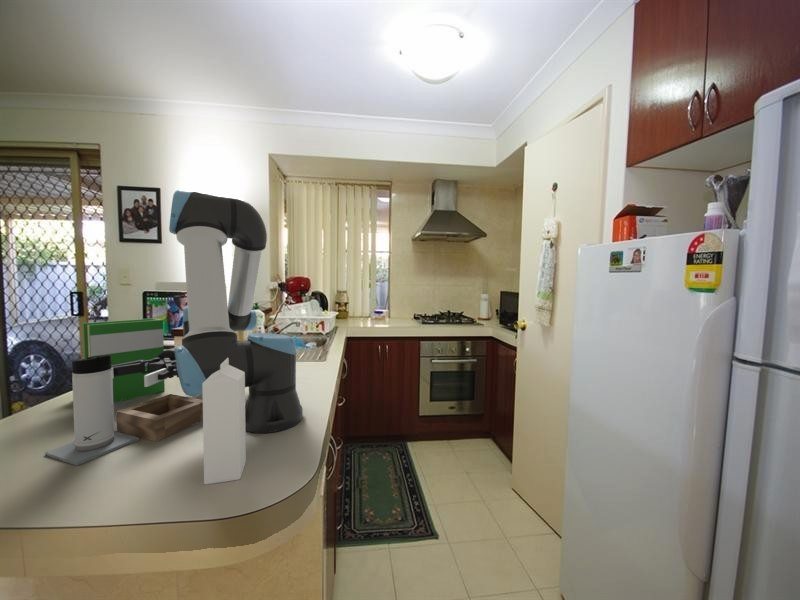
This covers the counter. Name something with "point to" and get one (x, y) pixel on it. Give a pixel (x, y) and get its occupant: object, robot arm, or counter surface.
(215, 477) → the milk
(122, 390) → the hardback book
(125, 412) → the cup stand
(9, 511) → the counter surface
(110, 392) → the travel mug
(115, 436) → the slate mat
